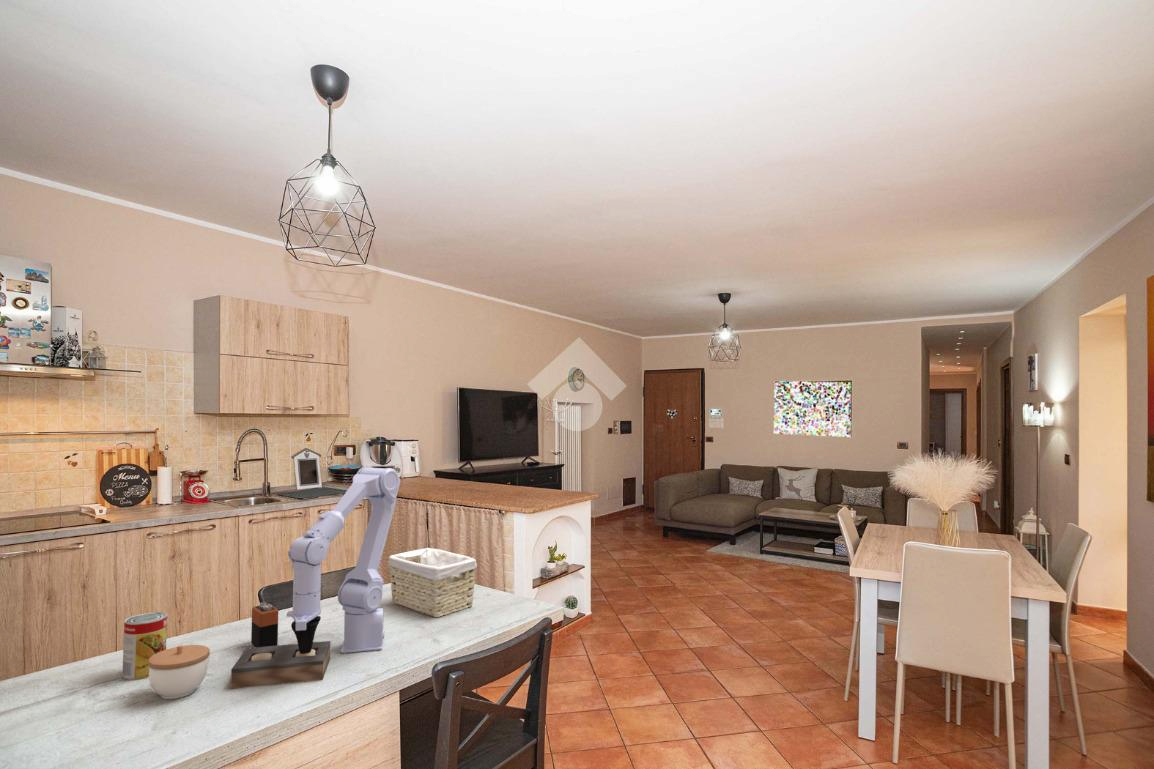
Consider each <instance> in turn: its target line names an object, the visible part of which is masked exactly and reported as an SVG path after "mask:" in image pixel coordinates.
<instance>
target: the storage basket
mask: <svg viewBox="0 0 1154 769" xmlns="http://www.w3.org/2000/svg"><path fill="white" fill-rule="evenodd" d="M417 559H418V562H415V560H417ZM412 560H413V561H412ZM476 560H477V559H475V558H473V557H471V556H467V555H463V554H459V553H454V552H450V551H447V550H443V549H439V548H433V547H432V548H430V547H424V548H420V549H414V550H411V551H410V550H409V551H405V552H400V553H396V554H392V555H390V556H389V557H388V562H387V564H388V566H389V574H390V590H391V600H392V602H393V603H394V604H396V605H399V606H402V607H406V608H408V609H411V610H413V611H416V612H417V611H418V613H420V612H421V614H424V613H425V615H428V616H432V617H433V618H440V616H441V617H444V616H446V615H449V614H453V612H454V613H456V611H457V612H460V611H462V610H466V609H465V608H467V609H468V607H469V608H470V607H472V606H473V602H474V592H475V589H474V588H475V583H476V582H475V580H476V578H475V577H476V569H477V567H478V564H477V561H476ZM459 610H460V611H459ZM443 615H444V616H443Z"/></svg>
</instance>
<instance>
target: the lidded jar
mask: <svg viewBox="0 0 1154 769" xmlns="http://www.w3.org/2000/svg"><path fill="white" fill-rule="evenodd" d="M210 651H211V650H210V648H209V647H208V646H207V645H201V644H188V645H182V644H180V645H177V646H173V647H171V648H166V650H163V651H160V652H158V653H156V654H154V655H153V656H151V657H150V658H149V660H148V666H149V678H148V680H149V685H150V687H151V688H152V690H153V691H154V692H155V693H156V694H157V695H159V696H160V698H162V699H164V700H174V699H179V698H183V697H186V696H189V695H191V694H193V693H194V692H195V691H196V689H197V688H198V687H199V686H200V684H201V683H202V682H203V680H204V679H205V678H206V675H207V671H208V667H209V662H210V657H209V656H210V654H211V652H210Z"/></svg>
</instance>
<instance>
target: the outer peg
mask: <svg viewBox="0 0 1154 769" xmlns="http://www.w3.org/2000/svg"><path fill="white" fill-rule="evenodd" d="M270 659H272V654H271V653H260V654H256V655H254V656H252V658H251V661H259V660H270Z"/></svg>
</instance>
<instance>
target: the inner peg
mask: <svg viewBox="0 0 1154 769" xmlns="http://www.w3.org/2000/svg"><path fill="white" fill-rule="evenodd" d="M313 655H315V650H314V649H311V652H310V653H305V654H300V652H299V651H298V652H297V653H296V657H302V656H313Z"/></svg>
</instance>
